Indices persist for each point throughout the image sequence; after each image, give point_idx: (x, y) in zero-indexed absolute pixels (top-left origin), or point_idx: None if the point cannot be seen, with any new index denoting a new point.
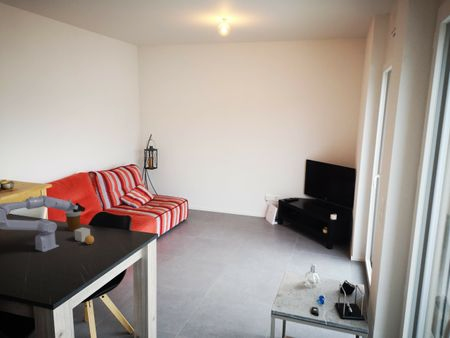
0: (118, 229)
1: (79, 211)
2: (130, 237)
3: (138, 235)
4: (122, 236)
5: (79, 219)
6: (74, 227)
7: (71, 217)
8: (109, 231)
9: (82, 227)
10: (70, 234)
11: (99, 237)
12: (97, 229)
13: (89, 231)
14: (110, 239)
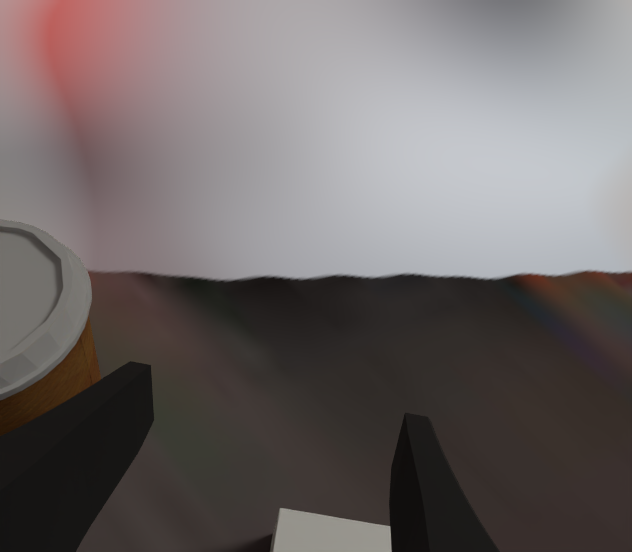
0: (415, 280)
1: (51, 253)
2: (625, 380)
3: (629, 328)
4: (561, 385)
5: (91, 334)
6: None
7: (6, 398)
8: (389, 333)
9: (278, 517)
10: (89, 539)
11: None
12: (266, 330)
13: None
14: (546, 481)
